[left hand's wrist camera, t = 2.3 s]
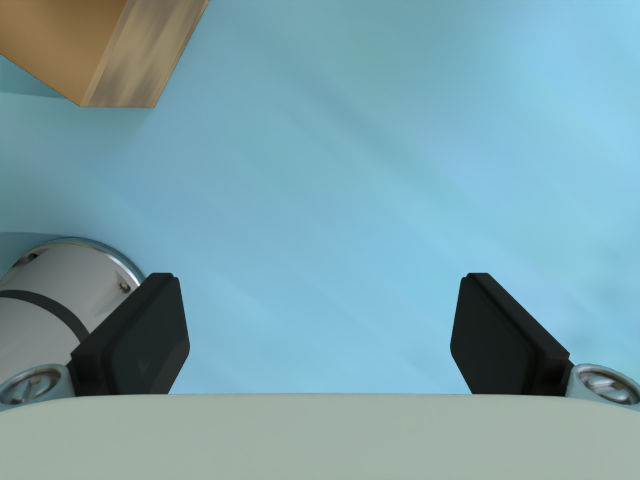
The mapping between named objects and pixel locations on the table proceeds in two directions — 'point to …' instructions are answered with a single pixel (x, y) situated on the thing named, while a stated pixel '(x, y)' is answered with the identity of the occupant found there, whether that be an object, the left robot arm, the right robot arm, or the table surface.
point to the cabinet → (99, 46)
